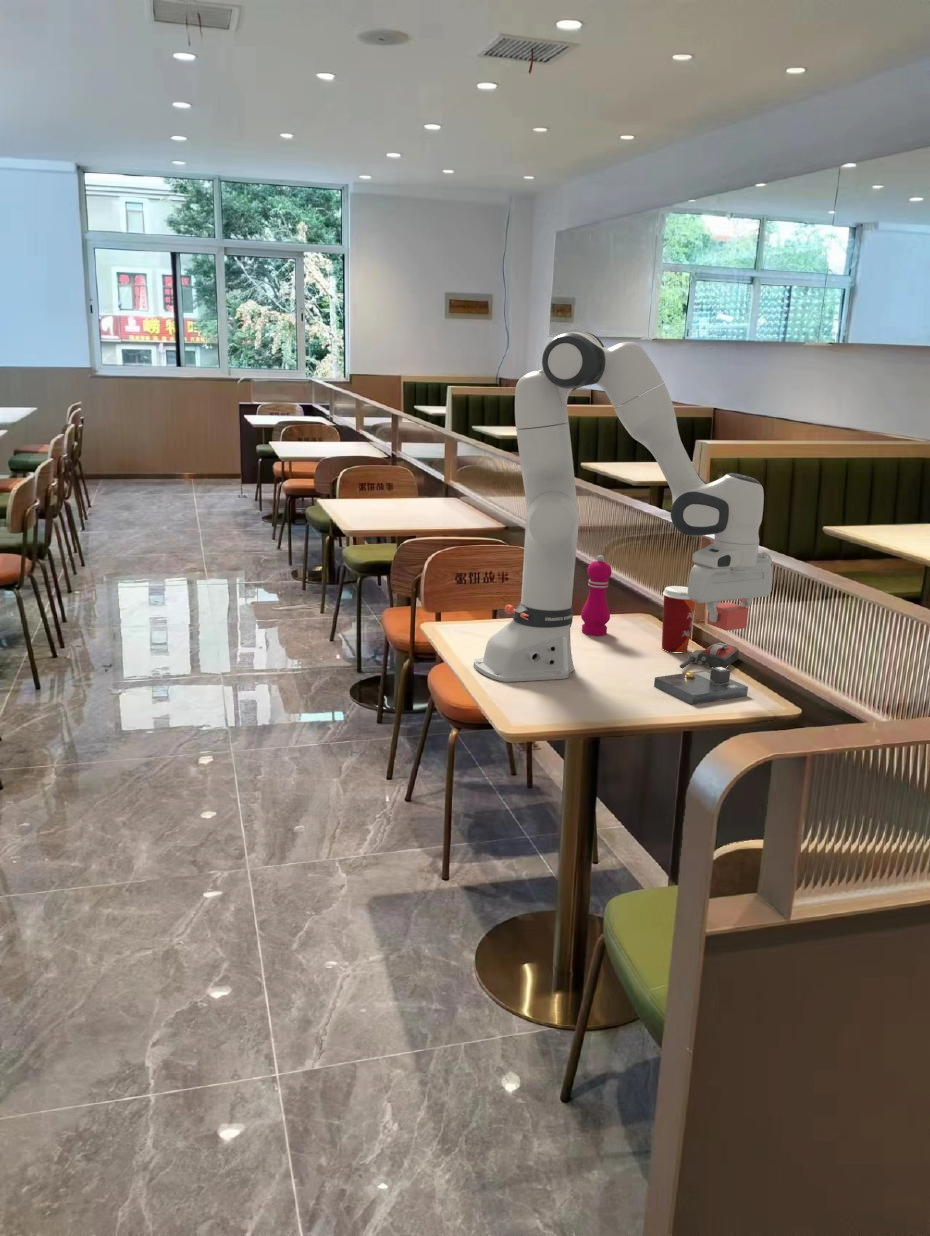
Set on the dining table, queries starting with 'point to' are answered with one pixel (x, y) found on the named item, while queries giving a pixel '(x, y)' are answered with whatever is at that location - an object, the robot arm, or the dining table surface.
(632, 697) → the dining table surface
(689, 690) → the panel
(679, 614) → the coffee cup
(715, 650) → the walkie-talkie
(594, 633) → the pepper mill
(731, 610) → the cap
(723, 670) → the block
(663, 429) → the robot arm
